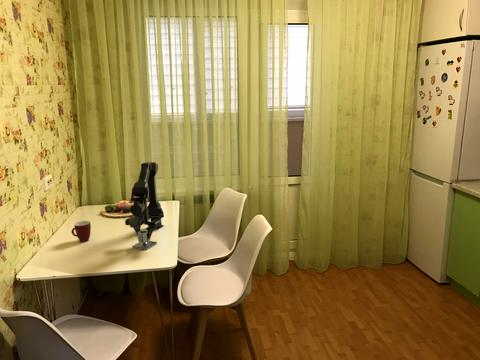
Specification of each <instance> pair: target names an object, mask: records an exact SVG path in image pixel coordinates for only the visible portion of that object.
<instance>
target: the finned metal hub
mask: <svg viewBox="0 0 480 360" xmlns="http://www.w3.org/2000/svg"><path fill="white" fill-rule="evenodd" d="M156 245H158V242H157V241H153V240H150V241H148V242H139V241H138V242H136V243H134V244H132V246H131V248H132V249H137V250H138V249H139V250H144V251H148V250H149V249H151V248H154V246H156Z"/></svg>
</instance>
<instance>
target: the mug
mask: <svg viewBox="0 0 480 360" xmlns="http://www.w3.org/2000/svg"><path fill="white" fill-rule="evenodd" d="M91 230H92V226H91V221H88V220H82V221H81V220H80V221H78V222H75V223H74V227H73V228H72V229H71V234H72V236H74V237H76V238H77V239H78V240H79V242H80V243H85V242H88V241H89V239H90V237H91Z"/></svg>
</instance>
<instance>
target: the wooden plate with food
mask: <svg viewBox="0 0 480 360" xmlns="http://www.w3.org/2000/svg"><path fill="white" fill-rule="evenodd" d="M134 197H135V196H134ZM133 204H134V201H131V198H129V200H123V199H122V200H121V201H119V202H116V203H114V204H113V203H110V204H107V205H105V206H104V208H103V209H101V212H100V214H101V216H103V217H105V218H108V219H109V218H110V219H128V218H130V217H134V215H133V214H132V213H131V212H130V208H131V206H132V205H133ZM148 205H149V203H148V202H147V207H148Z"/></svg>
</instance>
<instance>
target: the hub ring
mask: <svg viewBox="0 0 480 360" xmlns="http://www.w3.org/2000/svg"><path fill="white" fill-rule="evenodd" d="M137 233H138V236H137V241H138V242H148V241H151V238H150V239H148V232H147V230H146V229H141V231H139V232H137Z"/></svg>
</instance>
